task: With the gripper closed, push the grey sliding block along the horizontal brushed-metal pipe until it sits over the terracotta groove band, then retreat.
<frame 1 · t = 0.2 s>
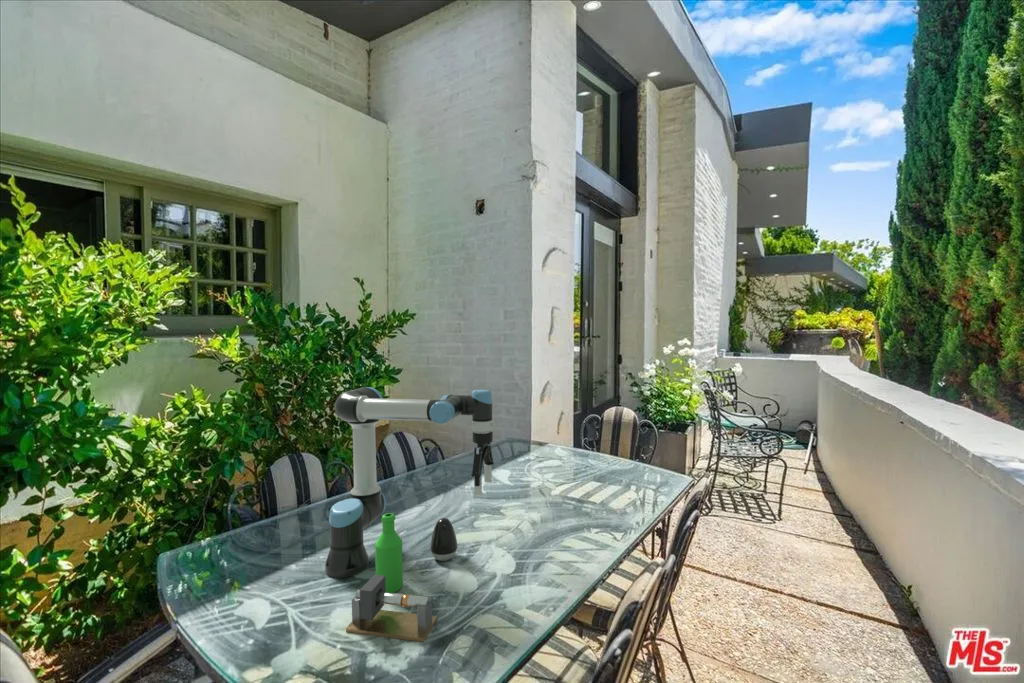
hand: (483, 487, 169), 28 cm above the table, fingers open, 13 cm apart
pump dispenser: (444, 558, 173), on the table
grey sliding block: (373, 596, 134), point 8 cm above the table, slide at -6.0 cm
bottle: (389, 588, 152), on the table
pipe stand: (392, 625, 133), on the table
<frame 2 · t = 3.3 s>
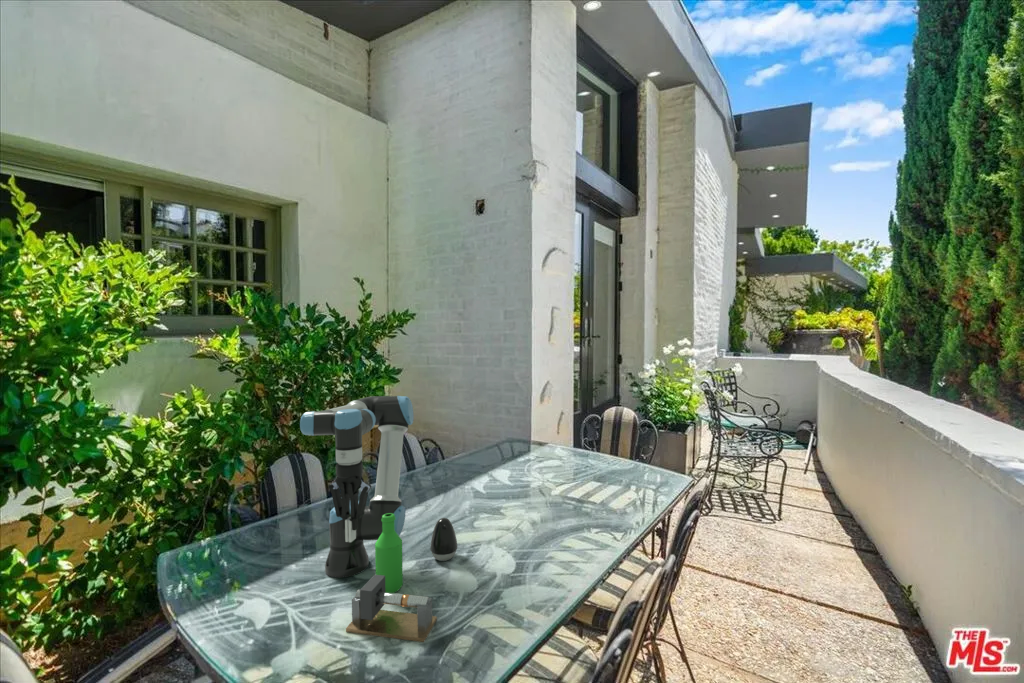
hand: (350, 540, 135), 24 cm above the table, fingers closed
nothing on the table moved.
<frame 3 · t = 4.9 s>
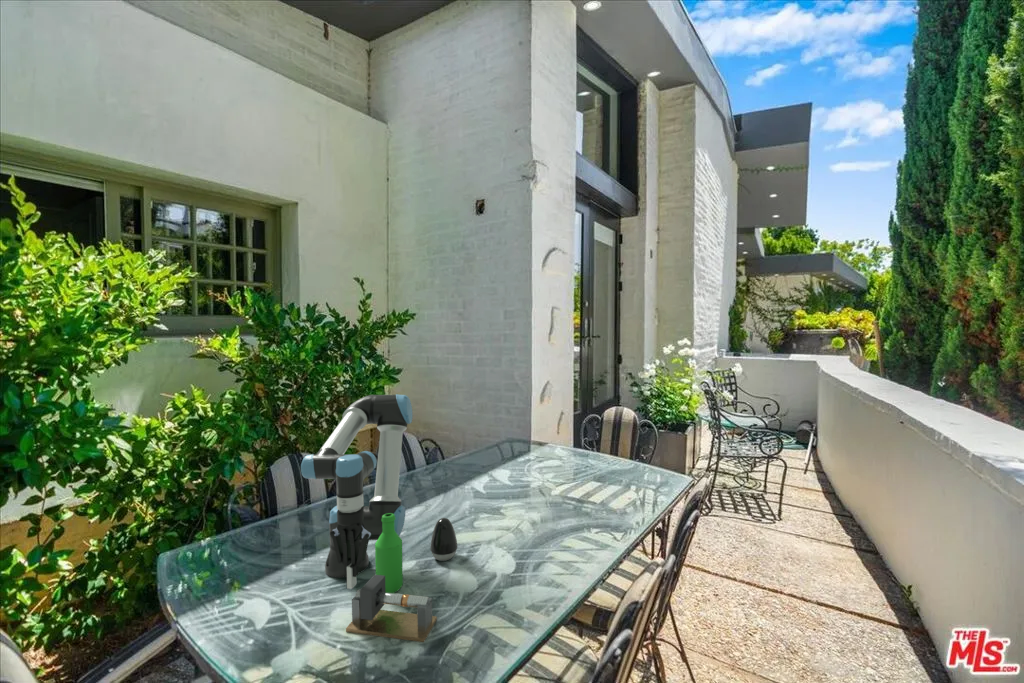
hand: (351, 586, 135), 10 cm above the table, fingers closed
nothing on the table moved.
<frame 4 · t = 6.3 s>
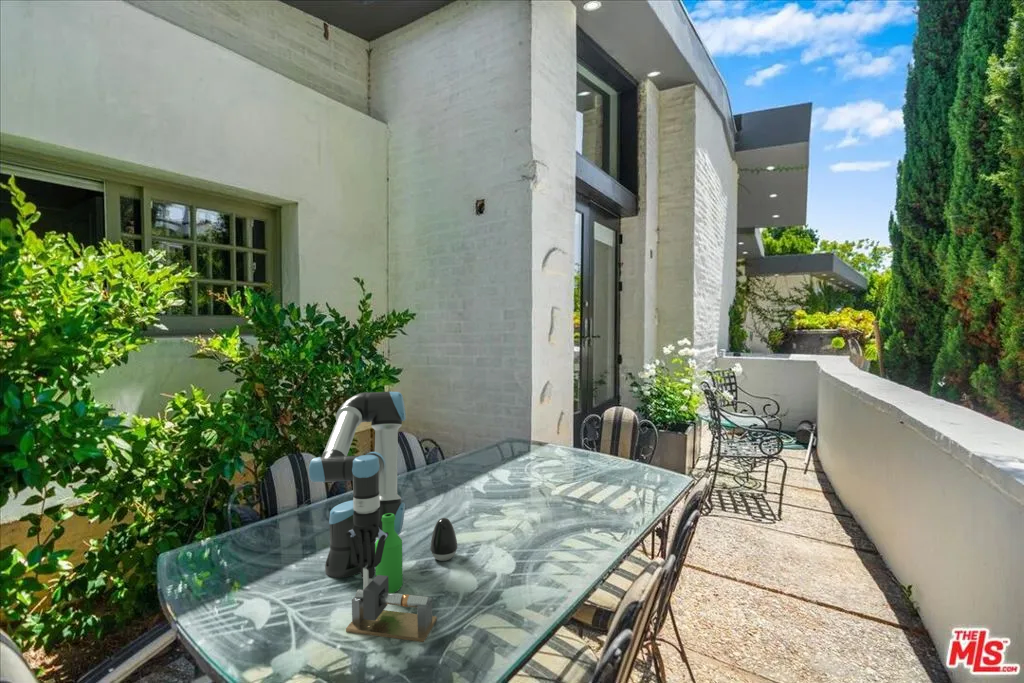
hand: (368, 588, 134), 11 cm above the table, fingers closed
grey sliding block: (376, 597, 134), point 8 cm above the table, slide at -5.0 cm, touching gripper
everything else where it was.
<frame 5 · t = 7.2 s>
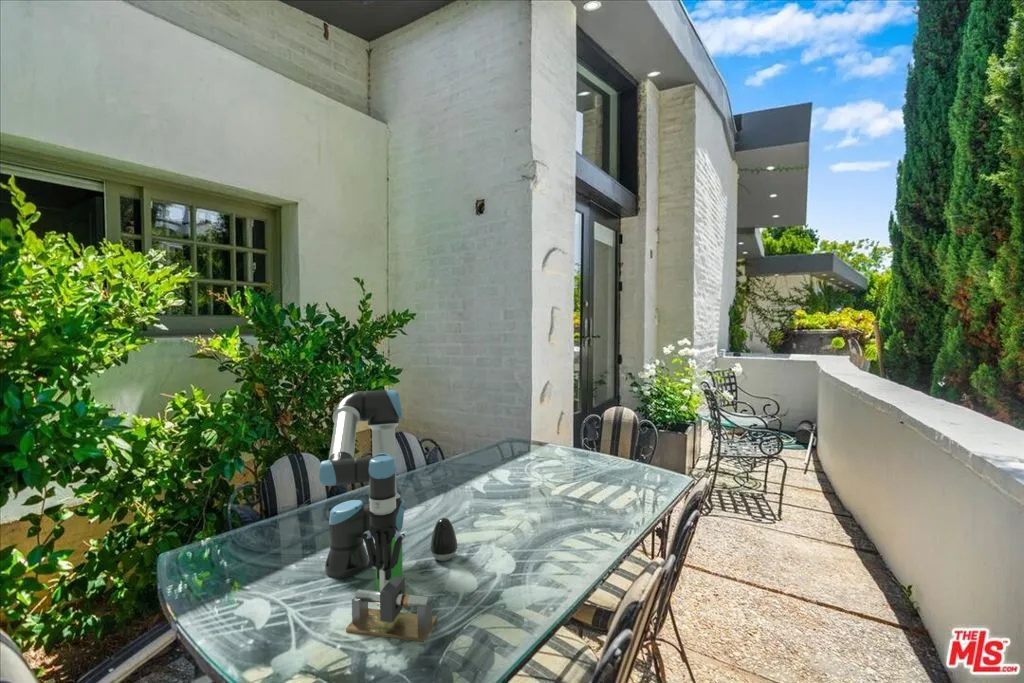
hand: (384, 589, 133), 11 cm above the table, fingers closed
grey sliding block: (392, 598, 133), point 8 cm above the table, slide at 0.3 cm, touching gripper
everything else where it was.
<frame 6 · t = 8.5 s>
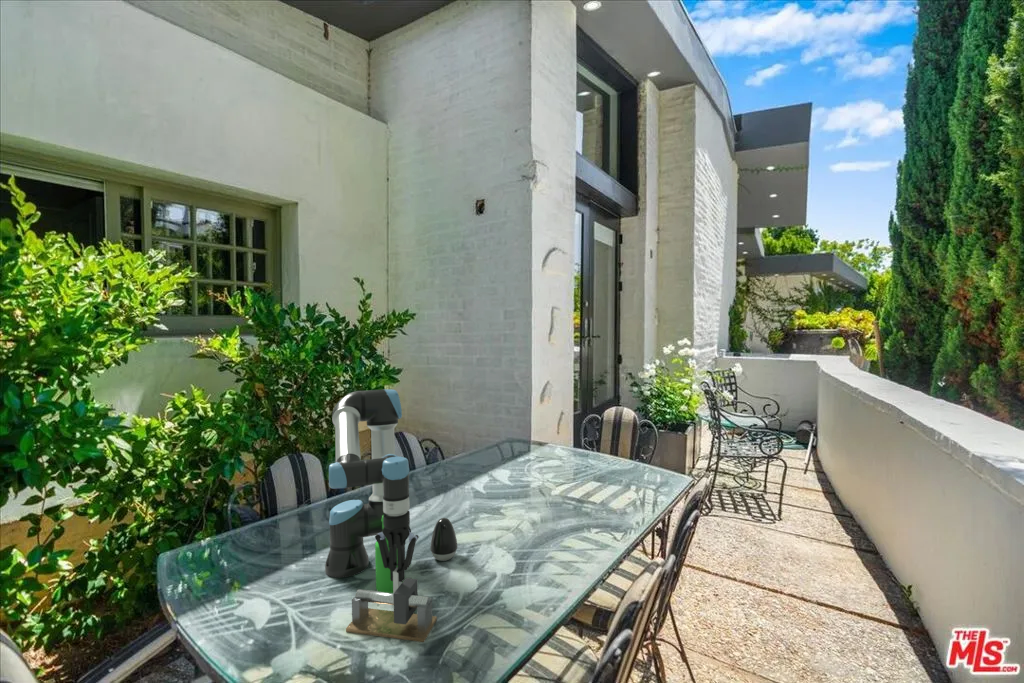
hand: (397, 591, 132), 10 cm above the table, fingers closed
grey sliding block: (406, 600, 132), point 8 cm above the table, slide at 4.5 cm, touching gripper
everything else where it was.
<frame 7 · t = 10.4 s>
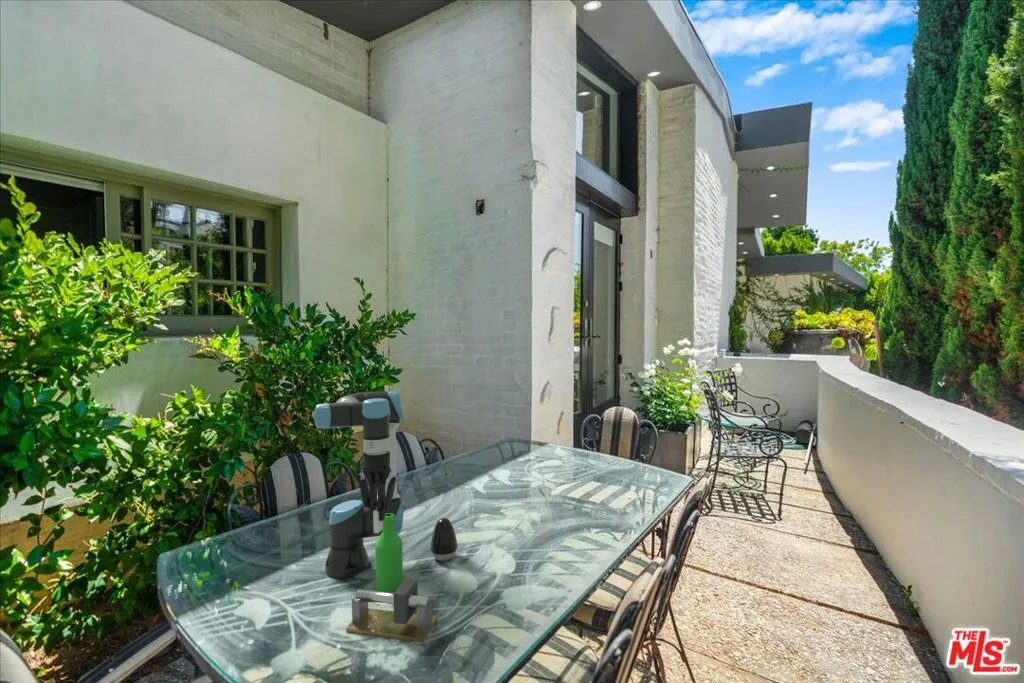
hand: (378, 530, 133), 28 cm above the table, fingers closed
grey sliding block: (406, 600, 132), point 8 cm above the table, slide at 4.5 cm
everything else where it was.
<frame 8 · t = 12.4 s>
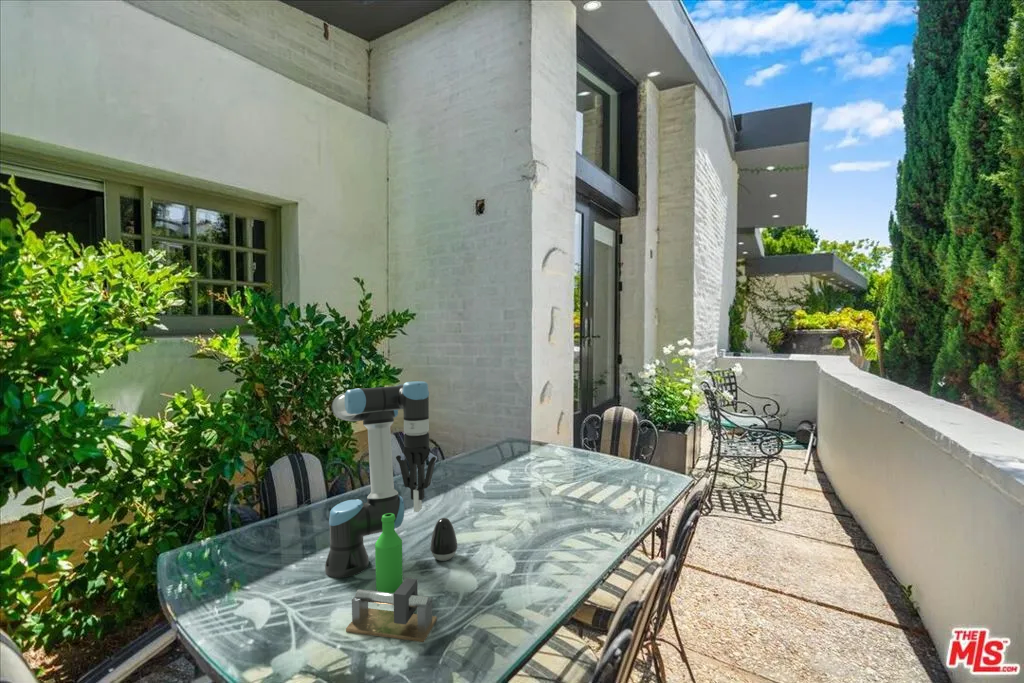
hand: (417, 510, 137), 32 cm above the table, fingers closed
nothing on the table moved.
at the end: grey sliding block slide at 4.5 cm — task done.
